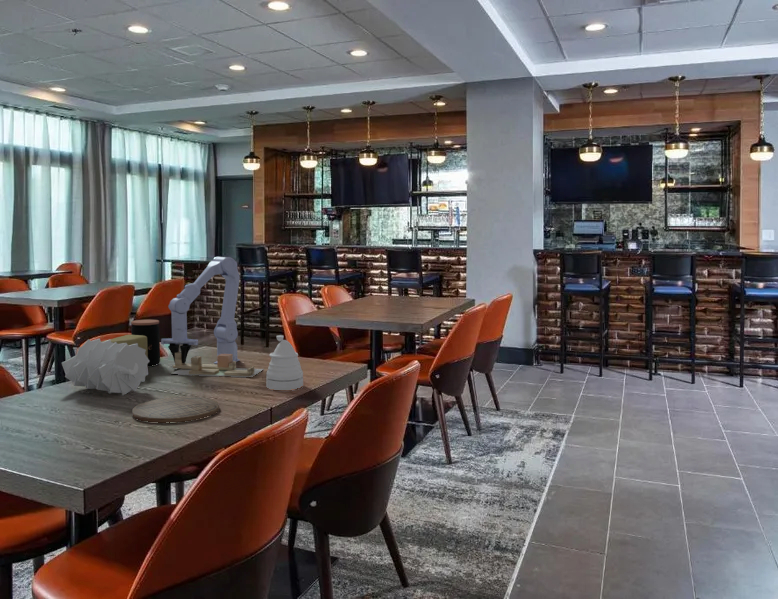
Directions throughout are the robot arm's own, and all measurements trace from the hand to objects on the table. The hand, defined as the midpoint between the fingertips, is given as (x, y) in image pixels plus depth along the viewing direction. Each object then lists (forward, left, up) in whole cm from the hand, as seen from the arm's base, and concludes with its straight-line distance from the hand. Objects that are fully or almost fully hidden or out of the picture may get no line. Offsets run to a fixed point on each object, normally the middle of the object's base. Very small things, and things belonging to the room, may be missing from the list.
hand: (180, 362), depth 259 cm
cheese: (+19, -15, -3) cm, 24 cm away
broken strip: (+7, +20, -3) cm, 22 cm away
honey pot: (+22, +49, -3) cm, 54 cm away
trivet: (+59, +26, -3) cm, 65 cm away
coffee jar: (-6, -17, -3) cm, 18 cm away
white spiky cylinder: (+38, -8, -3) cm, 39 cm away
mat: (+3, +17, -3) cm, 18 cm away
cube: (0, +19, -1) cm, 19 cm away
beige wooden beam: (0, +10, -3) cm, 10 cm away
